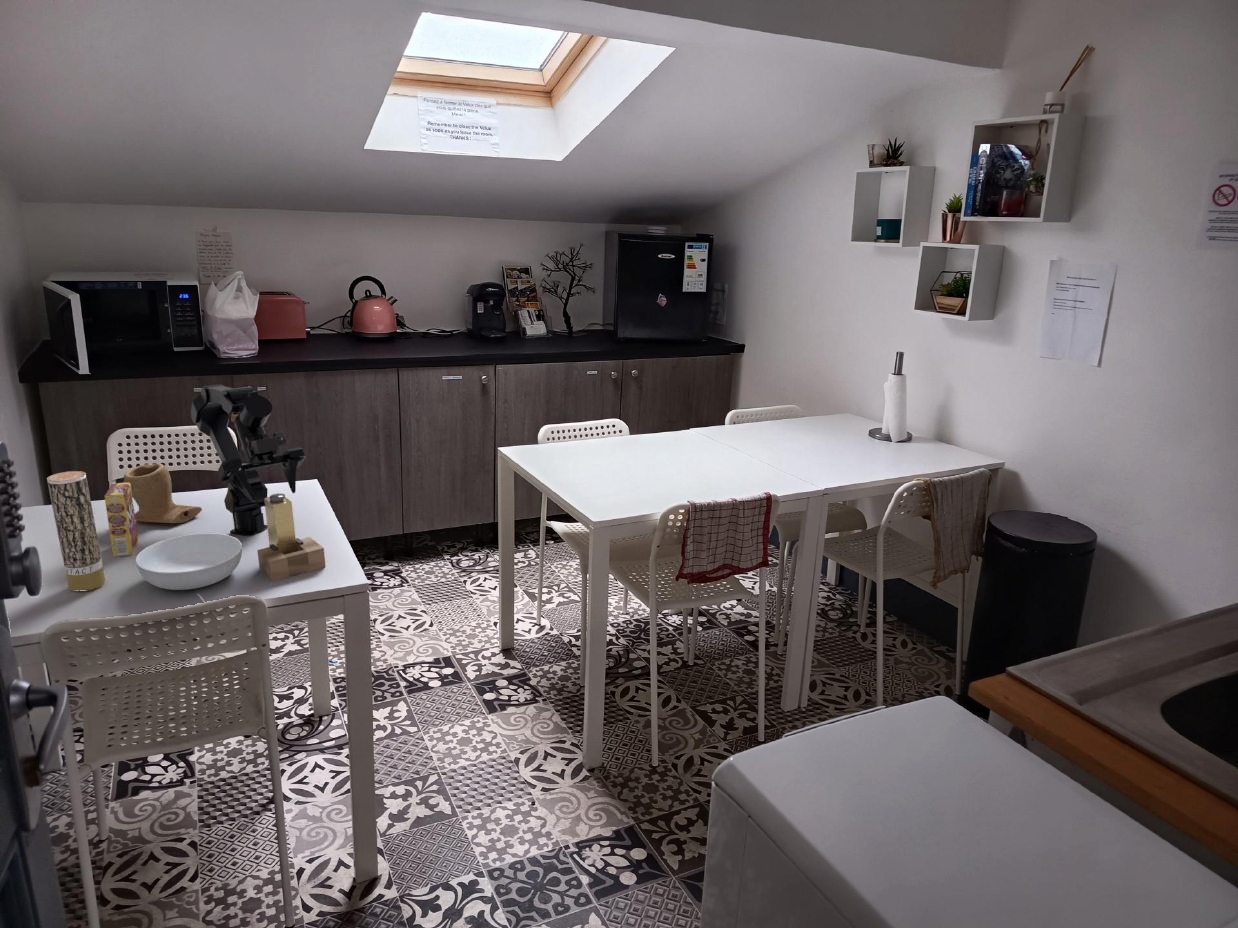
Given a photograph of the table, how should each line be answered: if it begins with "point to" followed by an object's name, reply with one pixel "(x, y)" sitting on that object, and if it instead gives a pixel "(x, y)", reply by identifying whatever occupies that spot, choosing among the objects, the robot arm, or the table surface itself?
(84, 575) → the paper tube
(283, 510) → the brass post
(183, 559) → the serving bowl
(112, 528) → the candy box
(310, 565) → the walnut housing
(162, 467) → the tan ankle boot
